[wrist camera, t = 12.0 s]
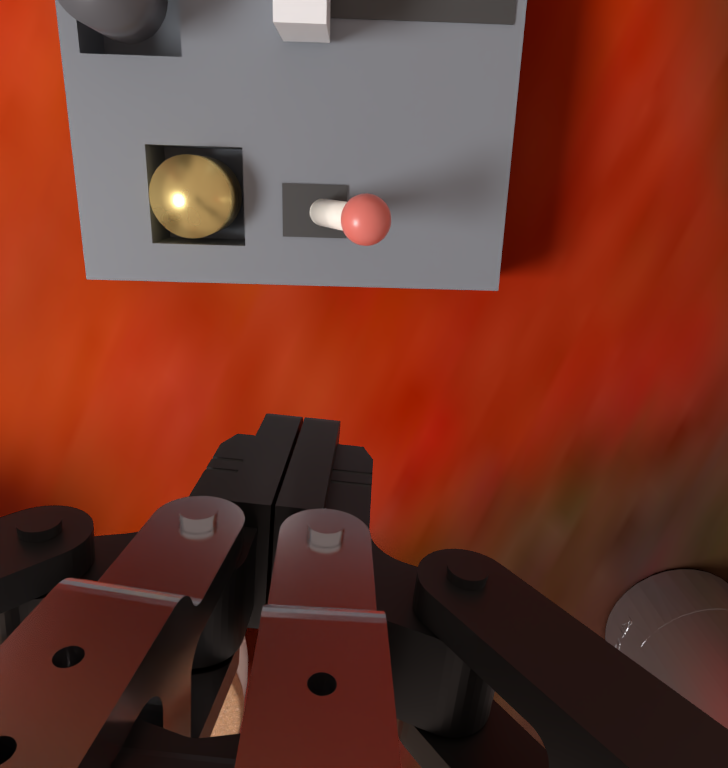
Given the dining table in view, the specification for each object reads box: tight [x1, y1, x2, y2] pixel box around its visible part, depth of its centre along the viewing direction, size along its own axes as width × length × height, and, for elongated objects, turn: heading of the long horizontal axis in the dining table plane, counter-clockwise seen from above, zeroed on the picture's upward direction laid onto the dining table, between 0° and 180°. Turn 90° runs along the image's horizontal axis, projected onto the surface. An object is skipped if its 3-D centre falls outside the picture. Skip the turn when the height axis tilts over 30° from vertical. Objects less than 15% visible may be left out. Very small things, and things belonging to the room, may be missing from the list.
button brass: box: [149, 154, 242, 239], centre depth 29 cm, size 4×4×3 cm
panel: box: [55, 0, 527, 291], centre depth 29 cm, size 20×16×4 cm
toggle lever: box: [310, 193, 391, 246], centre depth 26 cm, size 2×2×6 cm
